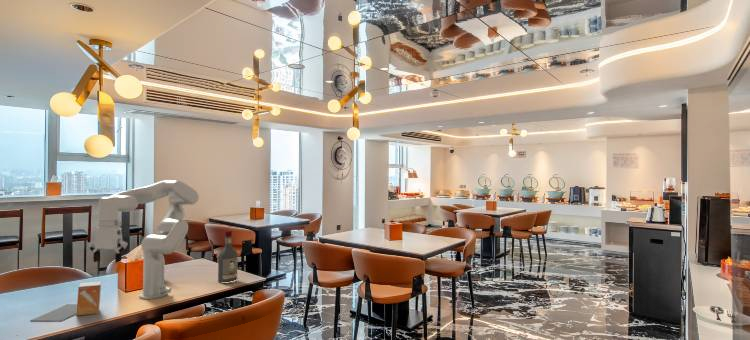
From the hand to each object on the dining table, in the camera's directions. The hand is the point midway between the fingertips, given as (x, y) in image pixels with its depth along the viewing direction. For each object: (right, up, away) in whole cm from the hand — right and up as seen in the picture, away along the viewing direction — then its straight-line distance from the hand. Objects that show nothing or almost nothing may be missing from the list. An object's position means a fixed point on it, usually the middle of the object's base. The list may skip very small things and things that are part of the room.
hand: (107, 261), depth 172 cm
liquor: (+35, -25, +52) cm, 67 cm away
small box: (-8, -23, -1) cm, 25 cm away
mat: (-19, -23, -1) cm, 30 cm away
